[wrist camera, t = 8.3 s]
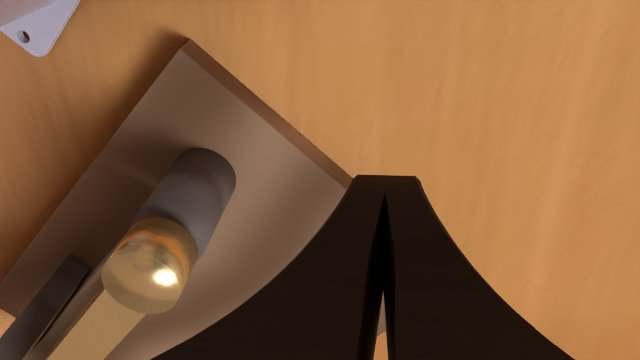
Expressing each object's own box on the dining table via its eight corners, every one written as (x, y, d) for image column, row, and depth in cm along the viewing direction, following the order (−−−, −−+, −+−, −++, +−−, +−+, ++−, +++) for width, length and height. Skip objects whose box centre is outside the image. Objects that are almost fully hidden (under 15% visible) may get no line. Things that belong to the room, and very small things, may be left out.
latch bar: (149, 204, 18) (122, 241, 16) (212, 246, 18) (193, 286, 17) (11, 379, 24) (-17, 418, 23) (61, 405, 25) (37, 445, 23)
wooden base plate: (0, 285, 30) (-113, 407, 23) (190, 39, 21) (92, 127, 14) (219, 419, 34) (177, 555, 28) (456, 268, 25) (478, 416, 19)
